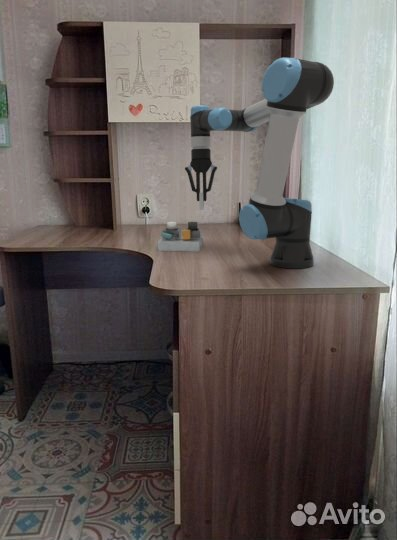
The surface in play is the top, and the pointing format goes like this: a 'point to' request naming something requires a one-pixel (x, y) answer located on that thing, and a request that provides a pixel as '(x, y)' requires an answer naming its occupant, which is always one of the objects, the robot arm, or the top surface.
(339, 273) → the top surface
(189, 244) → the panel
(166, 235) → the teal rectangular block
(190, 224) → the button
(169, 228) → the button
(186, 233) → the slider knob
